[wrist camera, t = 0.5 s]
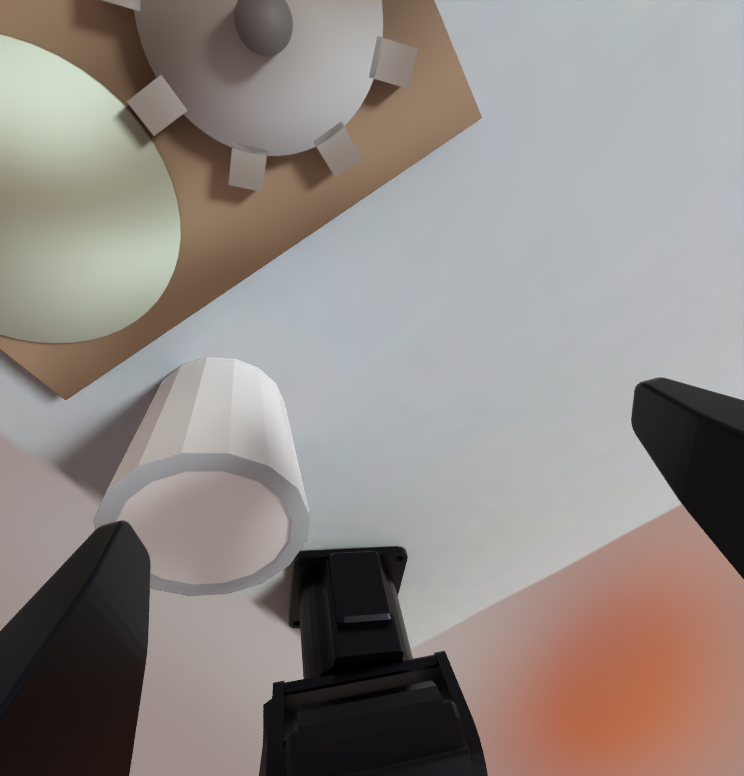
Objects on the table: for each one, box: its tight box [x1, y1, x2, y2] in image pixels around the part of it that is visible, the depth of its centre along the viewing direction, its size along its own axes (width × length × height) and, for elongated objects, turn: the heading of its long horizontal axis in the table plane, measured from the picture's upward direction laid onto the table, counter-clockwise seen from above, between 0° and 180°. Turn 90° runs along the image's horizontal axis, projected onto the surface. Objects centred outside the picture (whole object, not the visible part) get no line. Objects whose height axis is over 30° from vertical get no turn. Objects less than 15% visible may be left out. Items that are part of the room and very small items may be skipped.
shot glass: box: [94, 357, 310, 596], centre depth 20 cm, size 7×7×7 cm
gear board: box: [0, 0, 482, 400], centre depth 15 cm, size 11×18×4 cm, turn 121°
